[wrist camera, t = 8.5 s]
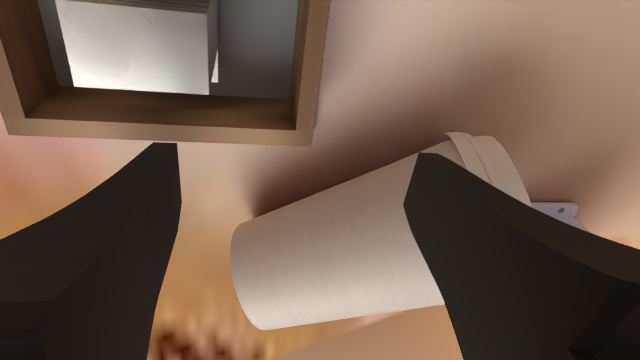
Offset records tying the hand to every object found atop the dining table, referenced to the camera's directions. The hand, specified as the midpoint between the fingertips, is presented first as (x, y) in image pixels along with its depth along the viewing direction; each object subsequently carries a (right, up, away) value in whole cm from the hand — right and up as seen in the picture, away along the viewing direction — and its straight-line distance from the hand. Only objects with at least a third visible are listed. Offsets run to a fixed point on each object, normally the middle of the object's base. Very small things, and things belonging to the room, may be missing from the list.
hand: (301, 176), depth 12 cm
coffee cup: (-3, -6, +12) cm, 14 cm away
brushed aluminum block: (-6, +7, +6) cm, 11 cm away
